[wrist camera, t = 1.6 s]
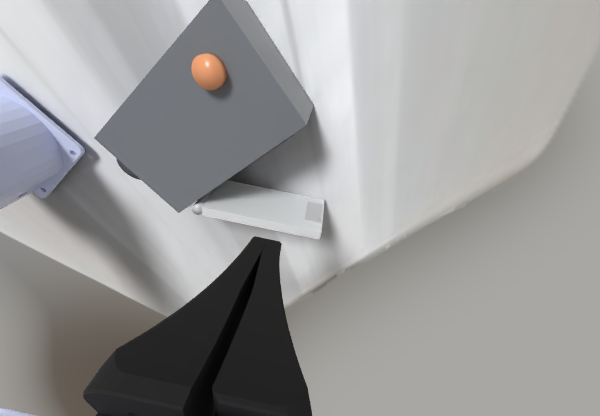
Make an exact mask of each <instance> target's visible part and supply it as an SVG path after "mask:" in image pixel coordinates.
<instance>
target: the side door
mask: <svg viewBox="0 0 600 416" xmlns="http://www.w3.org/2000/svg"><path fill="white" fill-rule="evenodd" d="M324 201H325V200H322V199H317V198H312V197H307V196H302V195H297V194H292V193H288V192H283V191H278V190H273V189H268V188H263V187H258V186H253V185H249V184H244V183H239V182H234V181H229V180H227V181H225V182H224V183H222V184H221V185H220V186H218V187H217V188H215V189H214V190H212V191H211V192H209V193H208V194H206V195H205V196H203V197H202V198H201V199H199V200H198V201H197V202H196V203H195V204H194V206H193V207H192V211H193V212H194V213H195V214H197V215H200V214H202V215H203V216H207V217H212V218H217V219H222V220H226V221H231V222H236V223H241V224H246V225H250V226H255V227H260V228H265V229H270V230H275V231H279V232H284V233H289V234H294V235H299V236H303V237H308V238H313V239H318V240H319V239H320V236H321V232H322V222H323V212H324Z"/></svg>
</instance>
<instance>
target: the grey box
mask: <svg viewBox="0 0 600 416" xmlns="http://www.w3.org/2000/svg"><path fill="white" fill-rule="evenodd" d="M313 106H314V104H313V103H312V101H311V100H310V98H309V97H308V95H307V94H306V92H305V90H304V89H303V87H302V86H301V84H300V83H299V81H298V80H297V78H296V77H295V75H294V73H293V72H292V70H291V69H290V67H289V66H288V64H287V63H286V61H285V59H284V58H283V56H282V55H281V53H280V52H279V50H278V49H277V47H276V46H275V44H274V42H273V41H272V39H271V38H270V36H269V35H268V33H267V32H266V30H265V28H264V27H263V25H262V24H261V22H260V21H259V19H258V18H257V16H256V15H255V13H254V11H253V10H252V8H251V7H250V5H249V4H248V2H247V1H245V0H209V1H208V3H207V4H206V5H205V6H204V7H203V9H202V10H201V11H200V12H199V13H198V15H197V16H196V17H195V18H194V19H193V21H192V22H191V23H190V24H189V25H188V26H187V28H186V29H185V30H184V31H183V32H182V34H181V35H180V36H179V37H178V38H177V40H176V41H175V42H174V43H173V44H172V46H171V47H170V48H169V49H168V50H167V52H166V53H165V54H164V55H163V56H162V58H161V59H160V60H159V61H158V62H157V63H156V65H155V66H154V67H153V68H152V69H151V71H150V72H149V73H148V74H147V75H146V77H145V78H144V79H143V80H142V81H141V83H140V84H139V85H138V86H137V87H136V89H135V90H134V91H133V92H132V93H131V95H130V96H129V97H128V98H127V99H126V100H125V102H124V103H123V104H122V105H121V106H120V108H119V109H118V110H117V111H116V112H115V114H114V115H113V116H112V117H111V118H110V120H109V121H108V122H107V123H106V124H105V126H104V127H103V128H102V129H101V130H100V132H99V133H98V134H97V135H96V136H95V139H96V140H97V141H98V142H99V143H100V144H101V145H102V146H104V147H105V148H106V149H107V150H108V151H109V152H110V153H112V154H113V155H114V156H115V157H116V159H117V162H118V164H119V166H120V167H121V169H122V170H123V171H124V172H126V173H127V174H128V175H130V176H132V177H134V178H136V179H139V180H142V181H143V182H144V183H145V184H147V185H148V186H149V187H150V188H151V189H152V190H153V191H154V192H156V193H157V194H158V195H159V196H160V197H161V198H162V199H163V200H165V201H166V202H167V203H168V204H169V205H170V206H171V207H173V208H174V209H175V210H176V211H177V212H178V213H179V212H181V211H182V210H184V209H185V208H187V207H188V206H190V205H191V204H192V203H194V202H195V201H197V200H199V199H201V198H202V197H203V196H205V195H206V194H208V193H209V192H211V191H212V190H214V189H215V188H217V187H218V186H220V185H221V184H222V183H224V182H225V181H227V180H228V179H230V178H231V177H233V176H234V175H236V174H237V173H239V172H240V171H241V170H243V169H244V168H246V167H247V166H249V165H250V164H252V163H253V162H255V161H256V160H258V159H259V158H261V157H262V156H263V155H265V154H266V153H268V152H269V151H271V150H272V149H274V148H275V147H277V146H278V145H280V144H281V143H282V142H284V141H285V140H287V139H288V138H290V137H291V136H293V135H294V134H295V133H296V132H298V131H299V130H300V129H302V128H303V127H305V126H306V125H307V123H308V120H309V117H310V114H311V112H312V109H313Z"/></svg>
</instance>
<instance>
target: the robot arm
mask: <svg viewBox="0 0 600 416" xmlns="http://www.w3.org/2000/svg"><path fill="white" fill-rule="evenodd" d="M84 153H85V150H84V148H83V147H82V146H81V145H80V144H79V143H78V142H77V141H76V140H74V139H73V138H72V137H71V136H70V135H69V134H67V133H66V132H65V131H64V130H63V129H62V128H60V127H59V126H58V125H57V124H56V123H55V122H53V121H52V120H51V119H50V118H49V117H47V116H46V115H45V114H44V113H43V112H42V111H40V110H39V109H38V108H37V107H36V106H35V105H33V104H32V103H31V102H30V101H29V100H28V99H26V98H25V97H24V96H23V95H22V94H20V93H19V92H18V91H17V90H16V89H15V88H13V87H12V86H11V85H10V84H9V83H8V82H6V81H5V80H4V79H3V78H2V77H1V76H0V209H2V208H4V207H6V206H7V205H9V204H11V203H13V202H15V201H17V200H19V199H20V198H22V197H24V196H26V195H28V194H30V193H32V192H33V193H34V194H36V195H37V196H38V197H40V198H46V197H47V196H49V194H50V193H51V192H52V191H53V190H54V188H55V187H56V186H57V185H58V184H59V183H60V181H61V180H62V179H63V178H64V177H65V175H66V174H67V173H68V172H69V171H70V170H71V168H72V167H73V166H74V165H75V164H76V162H77V161H78V160H79V159H80V158H81V157H82V155H83V154H84ZM280 250H281V243H280V242H279V241H274V240H269V239H265V238H260V237H253V238H252V239H251V241H250V242H249V244H248V245H247V246H246V247H245V249H244V250H243V251H242V252H241V253H240V255H239V256H238V257H237V258H236V259H235V260H234V261H233V262H232V263H231V264H230V266H229V267H228V268H227V269H226V270H225V271H224V272H223V273H222V274H221V275H220V276H219V277H218V278H217V279H215V280H214V281H213V282H212V283H211V284H210V285H209V286H208V287H207V288H206V289H204V290H203V291H202V292H201V293H200V294H198V295H197V296H196V297H195V298H193V299H192V300H191V301H190V302H188V303H187V304H186V305H184V306H183V307H182V308H180V309H179V310H178V311H176V312H175V313H173V314H172V315H170V316H169V317H167V318H166V319H164V320H163V321H161V322H160V323H159V324H157V325H156V326H154V327H153V328H151V329H149V330H148V331H146V332H144V333H143V334H141V335H140V336H138V337H136V338H134V339H133V340H131V341H129V342H128V343H126V344H124V345H122V346H121V347H119V348H117V349H116V350H115V351H114V352H113V354H112V355H111V356H110V357H109V358H108V360H107V361H106V362H105V363H104V364H103V365H102V367H101V368H100V369H99V371H98V373H97V374H96V375H95V377H94V378H93V379H92V381H91V382H90V384H89V385H88V386H87V388H86V389H85V391H84V394H83V397H84V399H85V400H86V402H88V403H89V404H90V405H91V406H92V407H93V408H94V409H95V410H96V411H97V412H98V413H97V415H96V416H312V411H311V405H310V400H309V395H308V388H307V385H306V382H305V380H304V377H303V374H302V371H301V368H300V366H299V363H298V360H297V356H296V353H295V350H294V347H293V343H292V339H291V336H290V332H289V329H288V324H287V320H286V315H285V310H284V305H283V299H282V292H281V284H280V272H279V257H280ZM0 416H37V415H32V414H27V413H24V412H19V411H14V410H10V409H5V408H1V407H0Z"/></svg>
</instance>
